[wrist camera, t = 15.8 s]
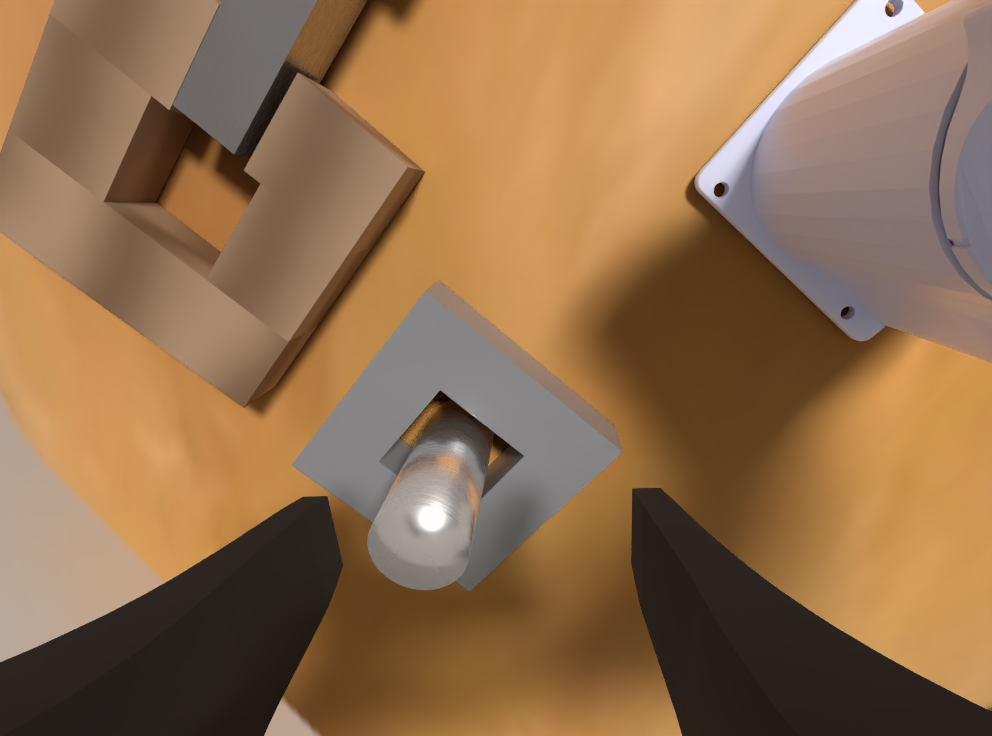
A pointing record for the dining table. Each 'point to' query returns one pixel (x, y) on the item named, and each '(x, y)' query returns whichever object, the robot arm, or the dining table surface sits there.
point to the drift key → (259, 63)
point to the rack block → (484, 394)
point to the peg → (433, 502)
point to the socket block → (144, 171)
